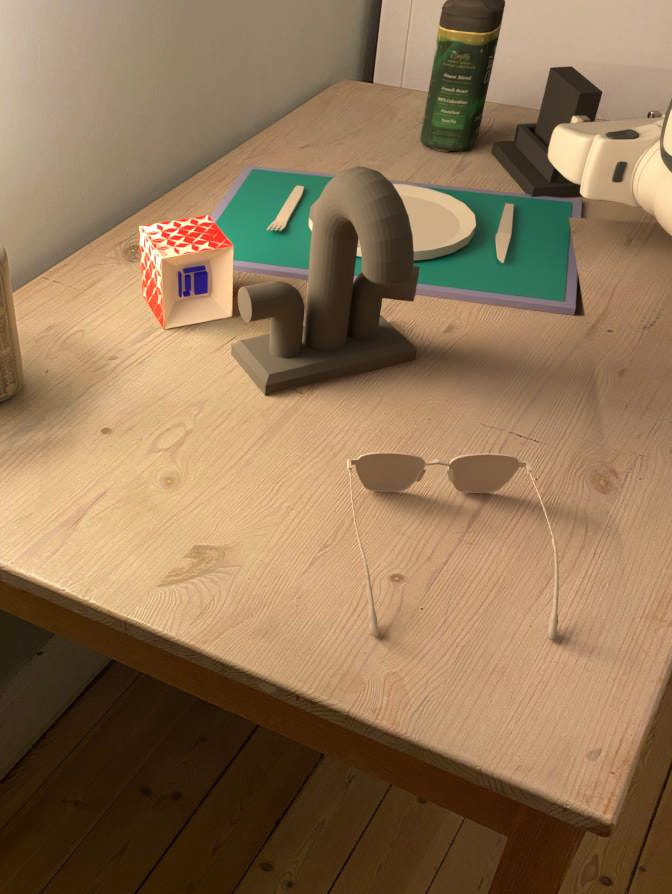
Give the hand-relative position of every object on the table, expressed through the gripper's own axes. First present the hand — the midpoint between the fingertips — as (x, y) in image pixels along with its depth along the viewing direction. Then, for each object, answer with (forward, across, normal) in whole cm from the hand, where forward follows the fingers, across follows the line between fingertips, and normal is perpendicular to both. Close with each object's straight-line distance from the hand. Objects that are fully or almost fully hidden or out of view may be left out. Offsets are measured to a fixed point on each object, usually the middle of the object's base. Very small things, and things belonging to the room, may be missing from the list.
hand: (614, 120), depth 113 cm
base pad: (+12, 0, +10) cm, 16 cm away
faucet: (-34, +40, +10) cm, 54 cm away
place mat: (-3, +27, +11) cm, 29 cm away
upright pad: (+12, 0, +9) cm, 15 cm away
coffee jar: (+25, +11, +11) cm, 29 cm away
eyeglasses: (-62, +38, +10) cm, 74 cm away
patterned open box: (-18, +54, +10) cm, 58 cm away
